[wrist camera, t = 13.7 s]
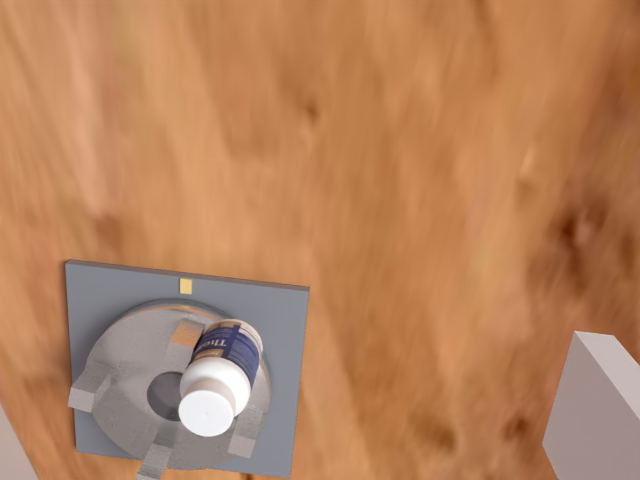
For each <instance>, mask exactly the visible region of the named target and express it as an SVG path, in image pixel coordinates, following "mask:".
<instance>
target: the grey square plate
mask: <svg viewBox="0 0 640 480" xmlns="http://www.w3.org/2000/svg"><path fill="white" fill-rule="evenodd" d="M65 270H66V287H67V303H68V319H69V336H70V352H71V368H72V385H73V384H74V383H75V381H76V380H77V379H78V378H79V377H80V375H81V374H82V373H83V372H84V370H85V366H86V362H87V359H88V356H89V354H90V352H91V350H92V348H93V347H94V345H95V344H96V342H97V341H98V339H99V338H100V337H101V336H102V335H103V334H104V332H105V331H106V330H107V329H108V328H109V326H110V325H111V324H112V323H113V322H114V321H115V320H116V319H117V318H118V317H120V316H121V315H122V314H123V313H125V312H126V311H128V310H130V309H132V308H133V307H136V306H138V305H141V304H143V303H146V302H150V301H154V300H161V299H186V300H193V301H197V302H201V303H205V304H208V305H210V306H213V307H216V308H218V309H220V310H222V311H224V312H226V313H227V314H229V315H230V316H232V317H233V318H235V319H238V320H241V321H244V322H246V323H247V324H249V325H250V326H252V327H253V328H254V329H255V330H256V331H257V333H258V334H259V336H260V338H261V341H262V345H263V351H264V353H265V354H266V357H267V359H268V362H269V365H270V369H271V374H272V396H271V400H270V404H269V409H268V413H267V417H266V421H265V424H264V426H263V428H262V431H261V432H260V434H259V435H258V437H257V439H256V441H255V445H254V448H253V451H252V454H251V457H250V459H249V458H246V457H242V456H237V457H236V458H234V459H232V460H230V461H228V462H226V463H224V464H221V465H218V466H215V467H211V468H209V469H217V470H226V471H234V472H242V473H250V474H258V475H266V476H275V477H283V478H290V475H291V466H292V457H293V447H294V437H295V427H296V417H297V407H298V397H299V388H300V378H301V368H302V358H303V348H304V338H305V329H306V319H307V309H308V299H309V289H310V287H305V286H296V285H288V284H279V283H270V282H262V281H253V280H244V279H236V278H227V277H218V276H210V275H201V274H192V273H183V272H175V271H166V270H157V269H149V268H140V267H131V266H123V265H114V264H105V263H97V262H88V261H79V260H71V259H70V260H69V261H68V262H67V263H65ZM74 417H75V434H76V450H77V452H79V453H87V454H95V455H103V456H111V457H120V458H128V459H136V460H141V459H139V458H136V457H135V456H133V455H131V454H130V453H128V452H126V451H125V450H123V449H122V448H121V447H119V446H118V445H117V444H116V443H115V442H113V441H112V440H111V439H110V438H109V437H108V436H107V435H106V434H105V432H104V431H103V430H102V429H101V428H100V426H99V425H98V423H97V422H96V420H95V419H94V417H93V415H92V413H89V412H86V411H83V410H79V409H76V408H74Z"/></svg>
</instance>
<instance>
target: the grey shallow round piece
mask: <svg viewBox="0 0 640 480" xmlns="http://www.w3.org/2000/svg"><path fill="white" fill-rule="evenodd" d="M223 319H235V318H233V317H232V316H230V315H229V314H227V313H226V312H224V311H222V310H220V309H218V308H216V307H213V306H210V305H208V304H205V303H201V302H197V301H193V300H186V299H161V300H154V301H150V302H146V303H143V304H141V305H138V306H136V307H133V308H132V309H130V310H128V311H126V312H125V313H123V314H122V315H121V316H120V317H118V318H117V319H116V320H115V321H114V322H113V323H112V324H111V325H110V326H109V328H108V329H107V330H106V331H105V332H104V334H103V335H102V336H101V337H100V338H99V339H98V341H97V342H96V344H95V345H94V347H93V348H92V350H91V352H90V354H89V356H88V359H87V362H86V366H85V370H84V372H83V373H82V374H81V375H80V377H79V378H78V379H77V380H76V381H75V383H74V384H73V385H72V386H71V390H70V395H69V401H68V406H69V407H72V408H76V409H79V410H83V411H86V412H89V413H92V415H93V417H94V419H95V420H96V422H97V423H98V425H99V426H100V428H101V429H102V430H103V431H104V432H105V434H106V435H107V436H108V437H109V438H110V439H111V440H112V441H113V442H115V443H116V444H117V445H118V446H119V447H121V448H122V449H123V450H125V451H126V452H128V453H130V454H131V455H133V456H135V457H136V458H139V459H141V460H143V463H142V465H141V467H140V469H139V471H138V473H137V477H136V480H162V479H163V477H164V475H165V472H166V470H167V468H169V469H177V470H199V469H206V468H211V467H215V466H218V465H221V464H224V463H226V462H228V461H230V460H232V459H234V458H236V457H237V456H242V457H246V458H249V459H250V457H251V454H252V451H253V448H254V445H255V441H256V439H257V437H258V435H259V434H260V432H261V431H262V428H263V426H264V424H265V421H266V417H267V413H268V409H269V404H270V400H271V396H272V374H271V369H270V365H269V362H268V359H267V357H266V354H265V353H264V351H262V357H261V360H260V364H259V367H258V370H257V374H256V377H255V381H254V384H253V388H252V391H251V394H250V398H249V400H248V403H247V405H246V406H245V408H244V409H243V410H242V412H240V413H239V414H238V415H237V416H235V417H234V418H233V421H232V423H231V425H230V427H229V428H228V429H227V430H226V431H225V432H223V433H222V434H220V435H217V436H211V437H206V436H200V435H197V434H195V433H193V432H191V431H190V430H188V429H187V428H186V427H185V426H184V425H183V423H182V422H181V420H180V417H179V412H178V409H179V404H180V401H181V399H182V398H181V394H180V382H181V378H182V376H183V373H184V371H185V369H186V368H187V366H188V364H189V362H190V360H191V358H192V356H193V354H194V352H195V350H196V348H197V346H198V344H199V342H200V340H201V338H202V337H203V335H204V333H205V332H206V330H207V329H208V328H209V327H210V326H211V325H212V324H213V323H215V322H217V321H219V320H223Z"/></svg>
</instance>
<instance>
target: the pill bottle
mask: <svg viewBox="0 0 640 480" xmlns="http://www.w3.org/2000/svg"><path fill="white" fill-rule="evenodd" d="M262 351H263V345H262V341H261V338H260V336H259V334H258V333H257V331H256V330H255V329H254V328H253V327H252V326H250V325H249V324H247V323H246V322H244V321H241V320H238V319H223V320H219V321H217V322H215V323H213V324H212V325H211V326H210V327H209V328H208V329H207V330H206V332H205V333H204V335H203V337H202V338H201V340H200V342H199V344H198V346H197V348H196V350H195V352H194V354H193V356H192V358H191V360H190V362H189V364H188V366H187V368H186V369H185V371H184V373H183V376H182V378H181V382H180V394H181V398H182V399H181V401H180V404H179V409H178V412H179V417H180V420H181V422H182V423H183V425H184V426H185V427H186V428H187V429H188V430H190V431H191V432H193V433H195V434H197V435H200V436H206V437H211V436H217V435H220V434H222V433H223V432H225V431H226V430H227V429H228V428H229V427H230V425H231V423H232V421H233V418H234V417H235V416H237V415H238V414H239V413H240V412H242V410H243V409H244V408H245V406H246V405H247V403H248V400H249V398H250V394H251V391H252V388H253V384H254V381H255V377H256V374H257V370H258V367H259V364H260V360H261V357H262Z"/></svg>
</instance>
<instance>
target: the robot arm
mask: <svg viewBox="0 0 640 480" xmlns="http://www.w3.org/2000/svg"><path fill="white" fill-rule="evenodd" d="M542 445H543V447H544V449H545V452H546V454H547V456H548V458H549V460H550V463H551V465H552V467H553V469H554V471H555V474H556V476H557V478H558V480H640V366H639V365H638V364H637V363H636V362H635V360H634V359H633V358H632V357H631V356H630V355H629V353H628V352H627V351H626V350H625V349H624V347H623V346H622V345H621V344H620V343H619V342H618V340H617V339H616V338H615V337H614V336H613V335H605V334H596V333H587V332H579V331H574V334H573V338H572V341H571V345H570V348H569V352H568V355H567V359H566V362H565V366H564V369H563V373H562V376H561V379H560V383H559V386H558V390H557V393H556V397H555V400H554V404H553V407H552V411H551V414H550V418H549V421H548V425H547V428H546V432H545V435H544V439H543V442H542Z"/></svg>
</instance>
